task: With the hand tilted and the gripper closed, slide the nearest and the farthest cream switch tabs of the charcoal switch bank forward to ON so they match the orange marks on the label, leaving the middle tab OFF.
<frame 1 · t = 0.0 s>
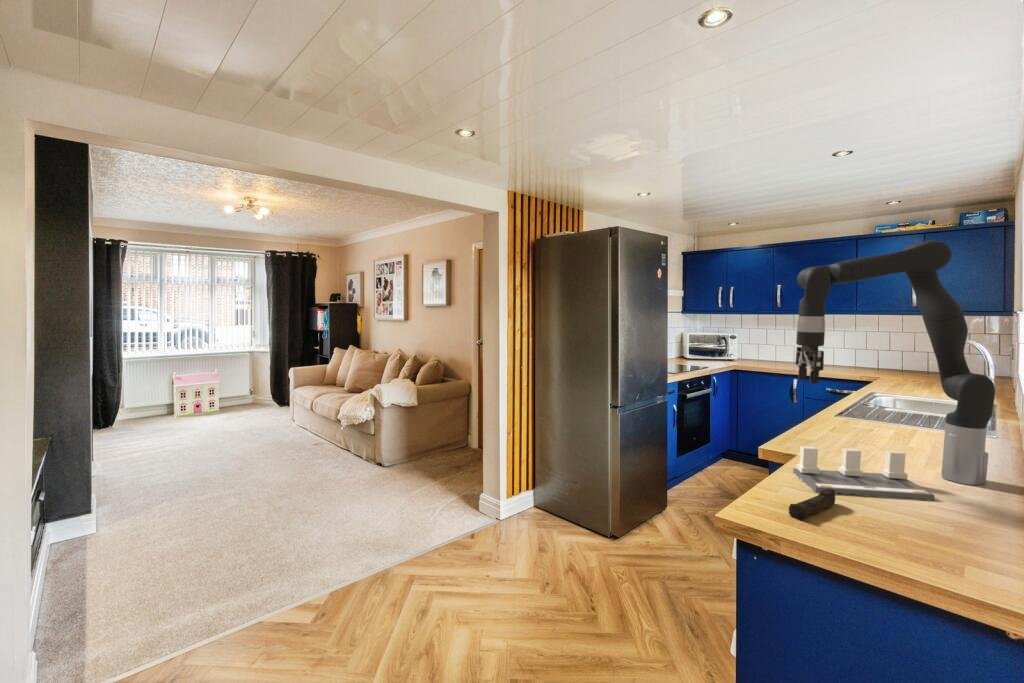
hand: (807, 381, 154), 29 cm above the countertop, tool pointing down, fingers open, 8 cm apart
middle tab: (850, 461, 148), point 6 cm above the countertop, slide at 0.0 cm
near tab: (894, 464, 146), point 6 cm above the countertop, slide at 0.0 cm
switch bank: (858, 485, 143), on the countertop
hand tool: (813, 511, 126), on the countertop
far tab: (808, 459, 150), point 6 cm above the countertop, slide at 0.0 cm
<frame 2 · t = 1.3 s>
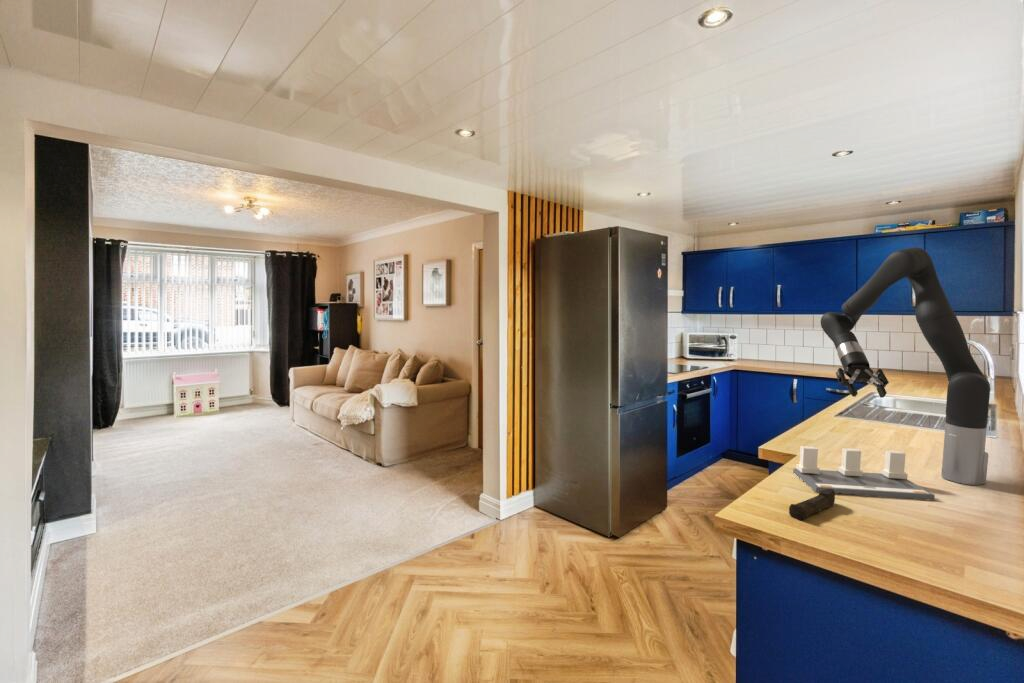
hand: (869, 395, 160), 24 cm above the countertop, tool tilted 45°, fingers open, 8 cm apart
nothing on the countertop moved.
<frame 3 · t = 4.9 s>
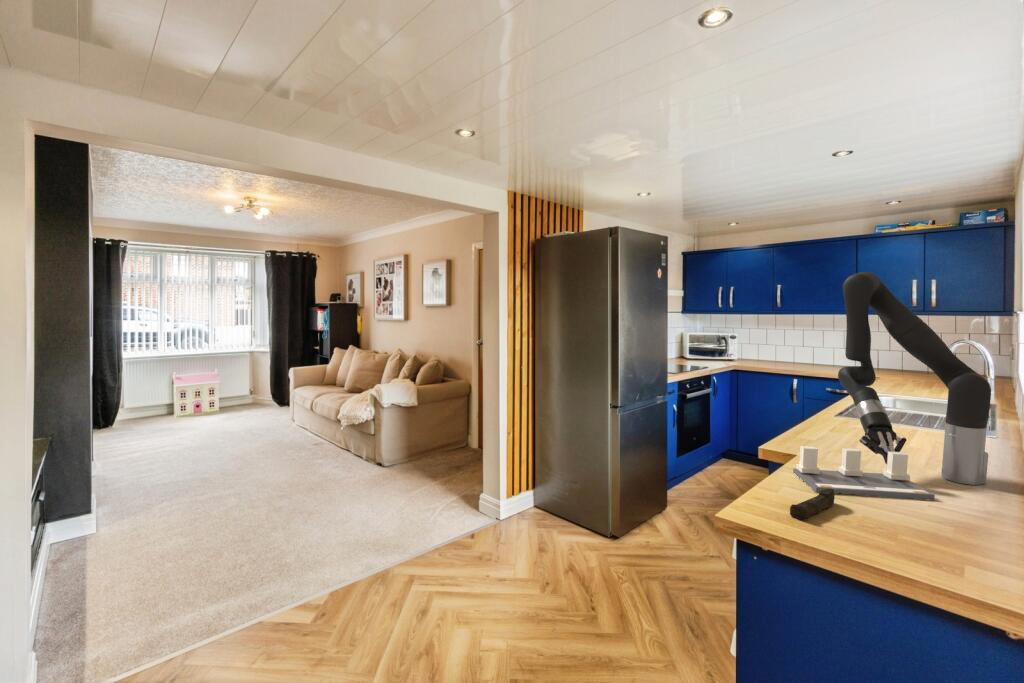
hand: (893, 465, 147), 5 cm above the countertop, tool tilted 45°, fingers closed
near tab: (897, 465, 145), point 6 cm above the countertop, slide at 1.2 cm, touching gripper
everything else where it was.
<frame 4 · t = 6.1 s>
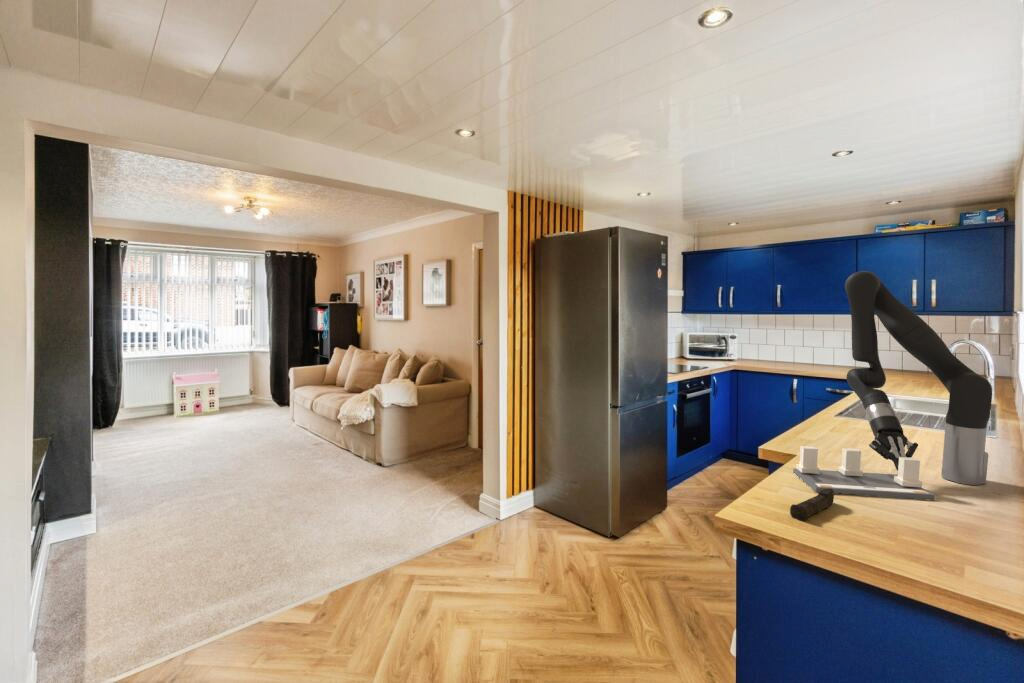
hand: (904, 472, 141), 5 cm above the countertop, tool tilted 45°, fingers closed
near tab: (908, 471, 139), point 6 cm above the countertop, slide at 6.6 cm, touching gripper
everything else where it was.
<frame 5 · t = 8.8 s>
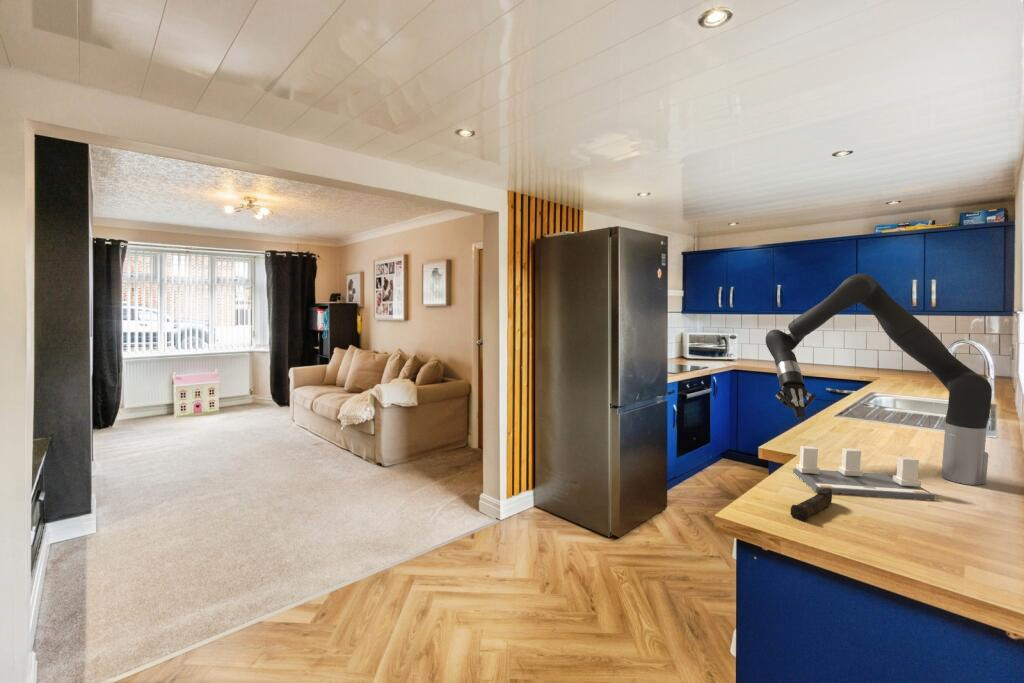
hand: (801, 417, 163), 15 cm above the countertop, tool tilted 45°, fingers closed
near tab: (907, 470, 140), point 6 cm above the countertop, slide at 6.1 cm
everything else where it was.
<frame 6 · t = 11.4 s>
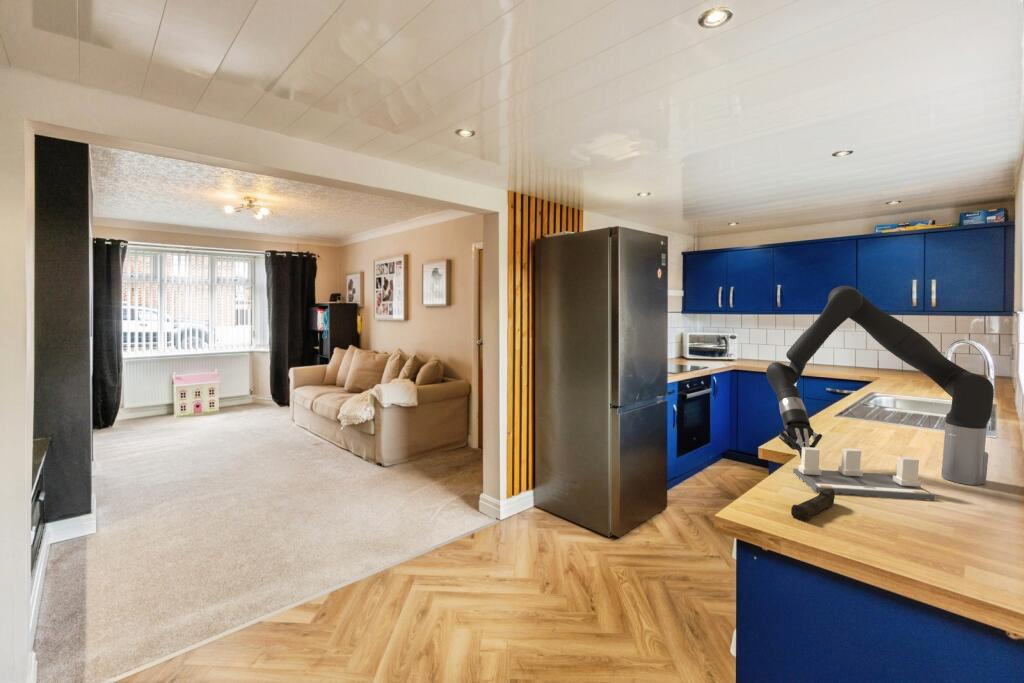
hand: (807, 461, 151), 5 cm above the countertop, tool tilted 45°, fingers closed
far tab: (810, 460, 149), point 6 cm above the countertop, slide at 1.1 cm, touching gripper
everything else where it was.
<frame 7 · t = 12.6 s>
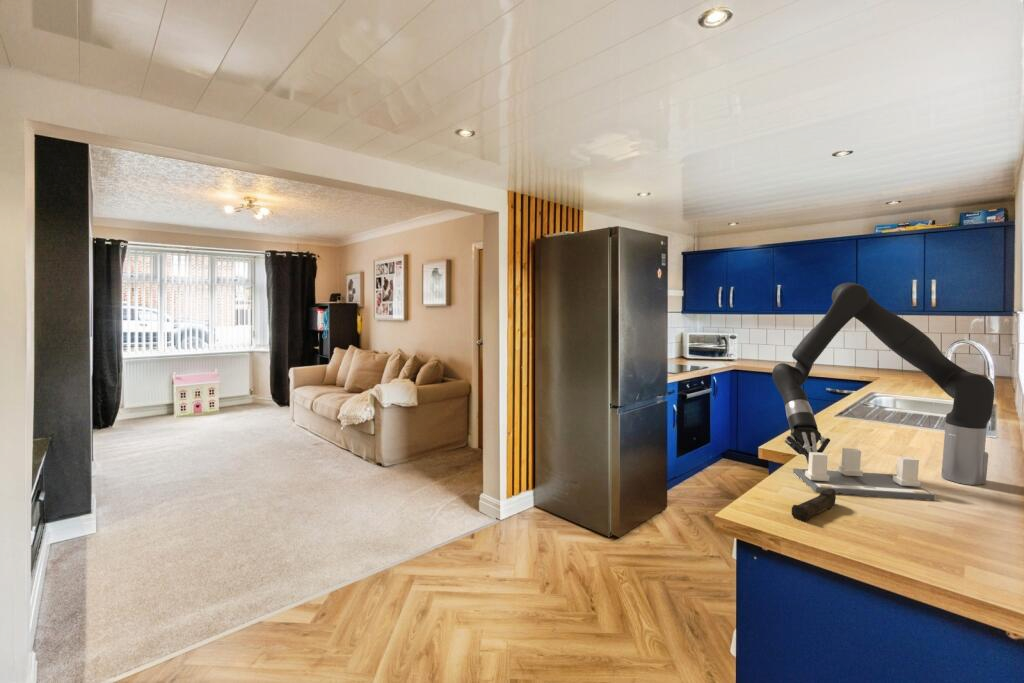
hand: (814, 466, 146), 5 cm above the countertop, tool tilted 45°, fingers closed
far tab: (817, 465, 144), point 6 cm above the countertop, slide at 6.2 cm, touching gripper
everything else where it was.
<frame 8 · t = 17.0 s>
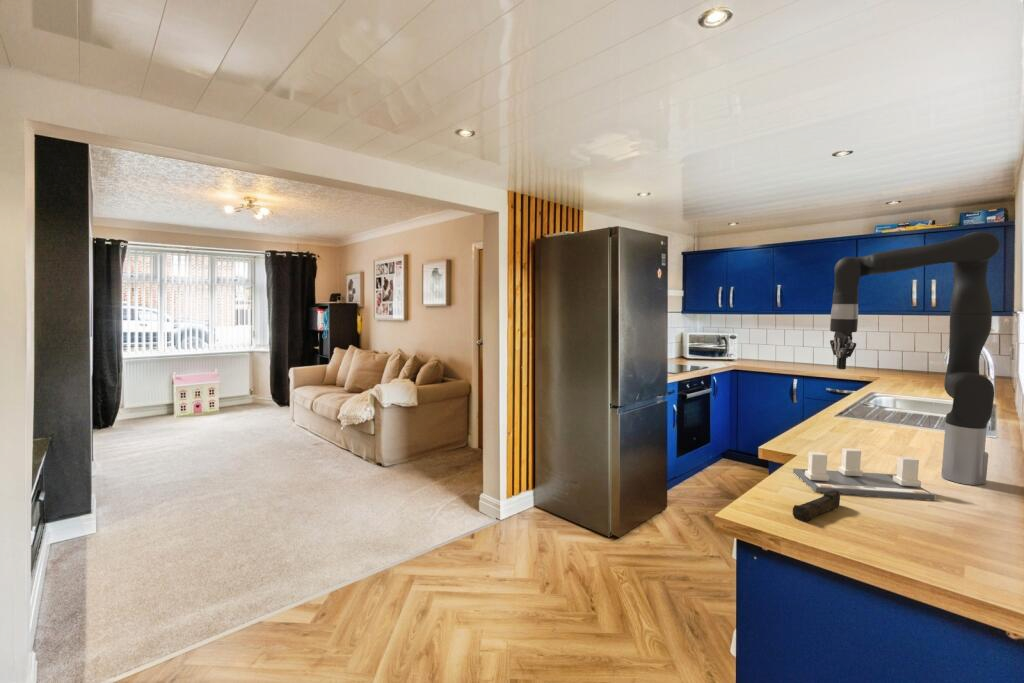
hand: (841, 368, 163), 32 cm above the countertop, tool pointing down, fingers closed
far tab: (817, 465, 144), point 6 cm above the countertop, slide at 6.1 cm
at the end: near tab slide at 6.1 cm; far tab slide at 6.1 cm; middle tab slide at 0.0 cm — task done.
